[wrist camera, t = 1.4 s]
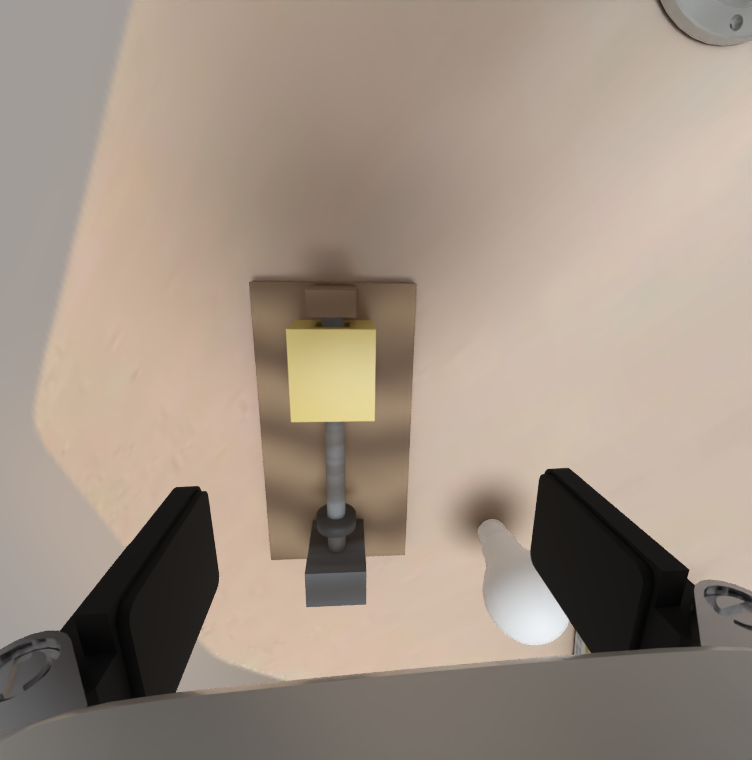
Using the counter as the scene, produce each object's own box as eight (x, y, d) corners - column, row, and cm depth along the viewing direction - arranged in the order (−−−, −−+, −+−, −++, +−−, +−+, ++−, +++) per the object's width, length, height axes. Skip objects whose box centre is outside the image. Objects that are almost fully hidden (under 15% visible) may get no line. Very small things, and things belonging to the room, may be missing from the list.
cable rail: (253, 281, 28) (221, 286, 21) (413, 283, 29) (434, 288, 22) (273, 550, 35) (255, 620, 28) (403, 545, 36) (415, 612, 29)
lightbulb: (442, 531, 35) (482, 643, 25) (486, 485, 34) (546, 581, 24) (489, 561, 37) (545, 679, 26) (532, 518, 36) (609, 622, 25)
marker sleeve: (295, 319, 27) (285, 329, 23) (372, 320, 27) (376, 329, 23) (299, 400, 28) (290, 422, 24) (371, 399, 29) (374, 421, 25)
